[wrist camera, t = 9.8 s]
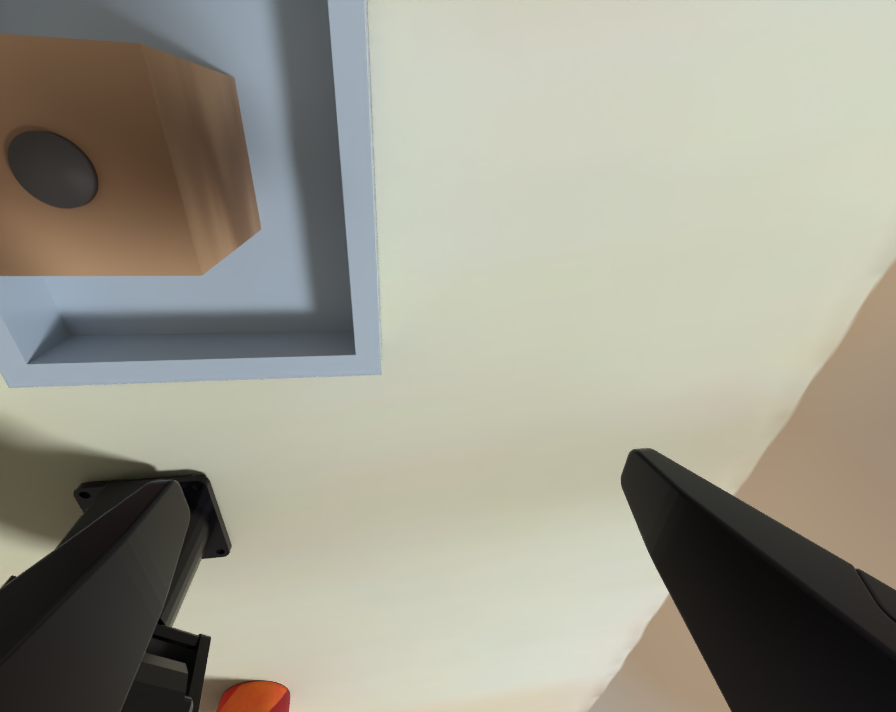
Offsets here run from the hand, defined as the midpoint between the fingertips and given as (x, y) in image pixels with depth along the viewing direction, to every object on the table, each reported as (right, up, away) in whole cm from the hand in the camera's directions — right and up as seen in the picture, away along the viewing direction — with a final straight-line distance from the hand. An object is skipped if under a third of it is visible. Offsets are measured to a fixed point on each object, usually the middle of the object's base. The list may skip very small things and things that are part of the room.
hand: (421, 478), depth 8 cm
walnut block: (-9, +10, +6) cm, 15 cm away
